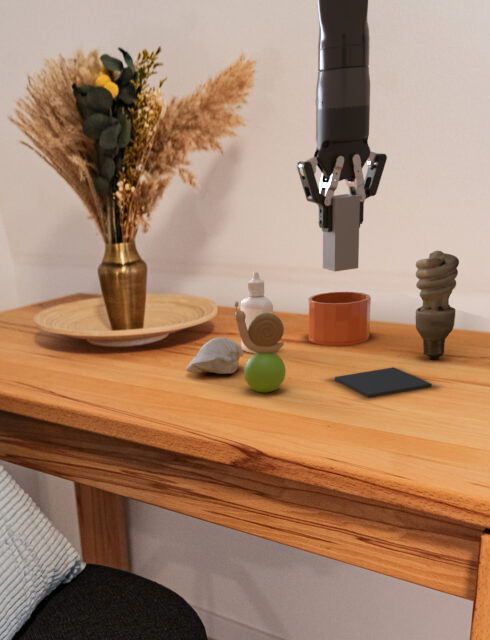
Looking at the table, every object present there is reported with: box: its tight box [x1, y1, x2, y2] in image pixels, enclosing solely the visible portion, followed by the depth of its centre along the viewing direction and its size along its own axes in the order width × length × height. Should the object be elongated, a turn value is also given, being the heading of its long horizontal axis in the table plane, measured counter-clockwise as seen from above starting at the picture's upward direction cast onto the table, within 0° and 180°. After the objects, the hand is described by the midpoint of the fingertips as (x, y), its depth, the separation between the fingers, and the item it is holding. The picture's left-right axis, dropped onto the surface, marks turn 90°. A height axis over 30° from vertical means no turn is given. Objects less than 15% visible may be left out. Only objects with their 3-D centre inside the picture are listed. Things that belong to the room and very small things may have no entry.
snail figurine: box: [234, 301, 287, 394], centre depth 109 cm, size 5×6×12 cm
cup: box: [307, 291, 372, 346], centre depth 133 cm, size 9×9×6 cm
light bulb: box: [415, 250, 460, 361], centre depth 116 cm, size 6×6×15 cm
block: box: [322, 193, 360, 272], centre depth 127 cm, size 4×4×10 cm
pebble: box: [185, 336, 244, 375], centre depth 121 cm, size 9×8×5 cm
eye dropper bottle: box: [239, 271, 274, 354], centre depth 128 cm, size 4×6×12 cm
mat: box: [334, 367, 432, 399], centre depth 111 cm, size 9×9×1 cm
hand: (341, 229), depth 127 cm, fingers closed on block, 4 cm apart
